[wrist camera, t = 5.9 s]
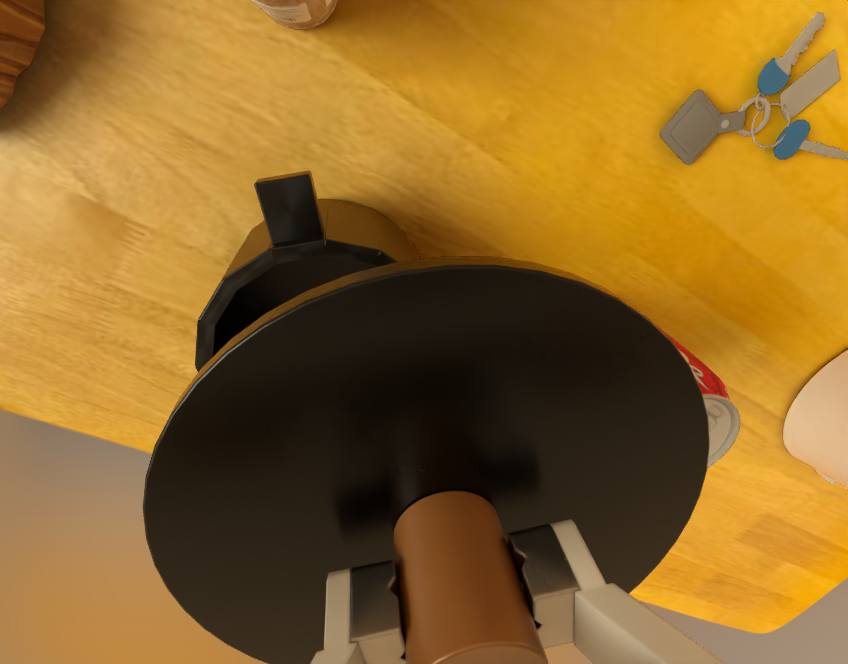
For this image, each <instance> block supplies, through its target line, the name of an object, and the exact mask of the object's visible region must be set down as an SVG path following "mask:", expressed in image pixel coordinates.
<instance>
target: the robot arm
mask: <svg viewBox="0 0 848 664" xmlns="http://www.w3.org/2000/svg"><path fill="white" fill-rule="evenodd" d="M783 441H784V445H785V447H786V449H787V451H788V452H789V453H790V454H791V455H792V456H793V457H794V458H796V459H798V460H800V461H802V462H804V463H805V464H807V465H809V466H811V467H813V468H814V469H815V470H816V472H817V474H818V475H819V476H820V477H822V478H823V479H825V480H826V481H828V482H829V483H833V484H834V483H838V484H840V485H841V486H842V487H844V488H845V489H847V490H848V350H846V351H845V352H843V353H842V354H840V355H839V356H837V357H836V358H835V359H833V360H832V361H831V362H829V363H828V364H827V365H825V366H824V367H823V368H822V369H821V370H820V371H819V372H817V373H816V374H815V375H814V376H813V377H812V378H811V379H810V381H809V382H808V383H807V384H806V385H805V386H804V387H803V389H802V390H801V391H800V393H799V394H798V395H797V397H796V398H795V400H794V402H793V403H792V405H791V407H790V409H789V411H788V414H787V416H786V419H785V423H784V427H783ZM507 544H508V547H509V550H510V553H511V556H512V559H513V562H514V564H515V567H516V570H517V573H518V576H519V579H520V582H521V585H522V588H523V591H524V593H525V596H526V599H527V602H528V605H529V608H530V611H531V614H532V617H533V619H534V622H535V625H536V628H537V631H538V634H539V637H540V640H541V643H542V646H543V648H548V647H554V646H558V645H563V644H568V643H573V642H574V645H575V646H576V647H577V648H578V649H579V650H580V651H581V652H582V653H583V654H584V655H585V656H586V657H587V658H588V659H589V660H590V661H592V663H593V664H724V662H723V661H722V660H720V659H719V658H718V657H716V656H715V655H713V654H712V653H710V652H709V651H708V650H706V649H705V648H704V647H702V646H701V645H699V644H698V643H697V642H695V641H694V640H692V639H691V638H689V637H688V636H687V635H685V634H684V633H682V632H681V631H680V630H678V629H677V628H675V627H674V626H673V625H671V624H670V623H668V622H667V621H666V620H664V619H663V618H661V617H660V616H658V615H657V614H656V613H654V612H653V611H652V610H650V609H649V608H647V607H646V606H644V605H643V604H642V603H640V602H639V601H638V600H636V599H635V598H633V597H632V596H631V595H629V594H628V593H626V592H625V591H624V590H622V589H621V588H619V587H618V586H617V585H615V584H614V583H610V584H606V582H605V580H604V579H603V577H602V575H601V573H600V571H599V569H598V567H597V565H596V563H595V561H594V559H593V557H592V555H591V553H590V552H589V550H588V548H587V546H586V544H585V542H584V540H583V538H582V536H581V534H580V532H579V530H578V528H577V526H576V525H575V523H574V522H573V521H572V520H571V519H568V520H564V521H560V522H556V523H551V524H544V525H540V526H535V527H531V528H527V529H523V530H519V531H515V532H510V533H508V534H507ZM310 664H406V656H405V638H404V628H403V618H402V611H401V607H400V588H399V579H398V570H397V564H396V560H395V559H393V560H388V561H383V562H378V563H373V564H368V565H363V566H358V567H353V568H348V569H343V570H339V571H334V572H330V573H329V574H328V578H327V587H326V611H325V635H324V650H320V651H317V652H316V654H315V656H314V658H313V659H312V661H311V663H310Z"/></svg>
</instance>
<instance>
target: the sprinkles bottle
mask: <svg viewBox="0 0 848 664" xmlns="http://www.w3.org/2000/svg"><path fill="white" fill-rule="evenodd" d="M251 1H253V2H254V3H255V4H256V5H257V6H259V7H260V8H261V9H262V10H263V11H265V13H266V14H267V15H268V16H269V17H271V18H272V19H273V20H274V21H275V22H277V23H279V24H280V25H283V26H286V27H288V28H292V29H311V28H313V27H315V26H318V25H320V24H322V23H323V22H325V21H326V20H327V19H328V17H329V16H330V15H331V13H332V12H333V11H334V9H335V7H336V4H337V2H338V0H251Z"/></svg>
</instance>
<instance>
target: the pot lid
mask: <svg viewBox="0 0 848 664" xmlns="http://www.w3.org/2000/svg"><path fill="white" fill-rule="evenodd" d="M709 448H710V439H709V422H708V415H707V411H706V407H705V403H704V399H703V395H702V391H701V389H700V387H699V385H698V383H697V380H696V378H695V376H694V374H693V372H692V370H691V368H690V365H689V364H688V362H687V361H686V360H685V358H684V357H683V355H682V354H681V353H680V351H679V350H678V349H677V347H676V346H675V344H674V343H673V342H672V340H671V339H670V338H669V337H668V336H666V335H665V334H664V333H663V332H662V331H661V330H660V329H659V328H658V327H657V326H656V325H655V324H654V323H653V322H652V321H651V320H650V319H648V318H647V317H646V316H645V315H644V314H642V313H641V312H640V311H639V310H637V309H636V308H635V307H633V306H632V305H630V304H629V303H627V302H626V301H624V300H623V299H621V298H620V297H618V296H617V295H615V294H613V293H612V292H610V291H609V290H607V289H606V288H603V287H601V286H599V285H597V284H595V283H592V282H590V281H588V280H586V279H583V278H581V277H579V276H577V275H575V274H572V273H569V272H565V271H562V270H558V269H555V268H551V267H548V266H544V265H541V264H537V263H533V262H527V261H519V260H512V259H505V258H497V257H490V256H442V257H434V258H426V259H418V260H410V261H402V262H396V263H392V264H388V265H384V266H380V267H376V268H372V269H368V270H364V271H360V272H356V273H352V274H349V275H347V276H344V277H341V278H339V279H336V280H334V281H331V282H329V283H326V284H323V285H321V286H318V287H316V288H313V289H311V290H308V291H306V292H304V293H302V294H300V295H299V296H297V297H295V298H293V299H291V300H289V301H288V302H286V303H284V304H282V305H280V306H278V307H277V308H275V309H273V310H271V311H269V312H267V313H266V314H265V315H263V316H262V317H260V318H259V319H258V320H256V321H255V322H254V323H252V324H251V325H250V326H248V327H247V328H245V329H244V330H243V331H241V332H240V333H239V334H237V335H236V336H235V337H233V338H232V339H231V340H230V341H229V342H228V343H227V344H226V345H225V346H224V347H223V348H222V349H221V350H220V351H219V352H217V353H216V354H215V355H214V356H213V357H212V358H211V359H210V360H209V361H208V362H207V363H206V364H205V365H204V366H203V367H202V368H201V370H200V371H199V372H198V374H197V375H196V376H195V378H194V379H193V380H192V382H191V383H190V385H189V386H188V387H187V389H186V390H185V391H184V393H183V394H182V395H181V397H180V398H179V400H178V402H177V403H176V405H175V407H174V409H173V411H172V413H171V415H170V417H169V419H168V421H167V423H166V425H165V427H164V429H163V431H162V433H161V435H160V437H159V439H158V441H157V442H156V444H155V447H154V451H153V454H152V457H151V461H150V464H149V468H148V471H147V474H146V479H145V480H146V481H145V490H144V501H143V514H144V523H145V533H146V539H147V543H148V546H149V549H150V552H151V555H152V559H153V562H154V565H155V567H156V569H157V571H158V572H159V574H160V576H161V578H162V580H163V582H164V584H165V586H166V587H167V589H168V590H169V592H170V593H171V594H172V595H173V597H174V598H175V599H176V601H177V602H178V603H179V604H180V606H181V607H182V608H183V609H184V611H186V612H187V613H188V614H189V615H190V616H191V617H192V618H193V619H194V620H195V621H196V622H197V623H198V624H200V625H201V626H202V627H203V628H204V629H205V630H207V631H208V632H210V633H211V634H212V635H214V636H215V637H217V638H218V639H220V640H221V641H223V642H224V643H226V644H227V645H229V646H231V647H233V648H235V649H237V650H239V651H241V652H243V653H244V654H246V655H248V656H250V657H252V658H255V659H257V660H260V661H263V662H265V663H268V664H310V663H311V661H312V659H313V658H314V656H315V654H316V652H317V651H320V650H324V635H325V611H326V587H327V578H328V574H329V573H330V572H334V571H339V570H343V569H348V568H353V567H358V566H363V565H368V564H373V563H378V562H383V561H388V560H393V559H395V560H396V564H397V570H398V579H399V588H400V607H401V611H402V618H403V628H404V638H405V656H406V664H548V660H547V657H546V654H545V651H544V648H543V646H542V643H541V640H540V637H539V634H538V631H537V628H536V625H535V622H534V619H533V617H532V614H531V611H530V608H529V605H528V602H527V599H526V596H525V593H524V591H523V588H522V585H521V582H520V579H519V576H518V573H517V570H516V567H515V564H514V562H513V559H512V556H511V553H510V550H509V547H508V544H507V534H508V533H510V532H515V531H519V530H523V529H527V528H531V527H535V526H540V525H544V524H551V523H556V522H560V521H564V520H568V519H571V520H572V521H573V522H574V523H575V525H576V526H577V528H578V530H579V532H580V534H581V536H582V538H583V540H584V542H585V544H586V546H587V548H588V550H589V552H590V553H591V555H592V557H593V559H594V561H595V563H596V565H597V567H598V569H599V571H600V573H601V575H602V577H603V579H604V580H605V582H606V584H610V583H614V584H615V585H617V586H618V587H619V588H621V589H622V590H624V591H625V592H626V593H628V594H629V593H630V592H631V591H632V590H633V589H634V588H636V587H637V586H638V585H639V584H640V583H641V582H642V581H643V580H644V579H645V578H646V577H647V576H648V575H649V574H650V573H651V572H652V571H653V570H654V568H655V567H656V566H657V565H658V564H659V563H660V562H661V561H662V559H663V558H664V557H665V555H666V554H667V553H668V552H669V550H670V549H671V548H672V546H673V545H674V544H675V542H676V541H677V539H678V538H679V536H680V534H681V533H682V531H683V529H684V528H685V526H686V524H687V522H688V521H689V519H690V517H691V515H692V512H693V510H694V508H695V505H696V503H697V501H698V499H699V496H700V493H701V490H702V486H703V483H704V479H705V475H706V472H707V465H708V456H709Z"/></svg>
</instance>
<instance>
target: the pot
mask: <svg viewBox="0 0 848 664" xmlns="http://www.w3.org/2000/svg"><path fill="white" fill-rule="evenodd" d="M254 186H255V189H256V192H257V196H258V199H259V202H260V206H261V209H262V212H263V215H264V219H265V220H264V221H263V222H262V223H260V224H259V225H258V226H256V227H255V228H253V229H252V230H251V232H250V233H249V235H248V237H247V238H246V240H245V242H244V243H243V245H242V247H241V248H240V250H239V252H238V253H237V255H236V257H235V258H234V260H233V261H232V263H231V265H230V267H229V268H228V270H227V272H226V273H225V275H224V277H223V278H222V280H221V282H220V283H219V285H218V287H217V288H216V290H215V292H214V293H213V295H212V297H211V299H210V300H209V302H208V304H207V305H206V307H205V309H204V310H203V312H202V314H201V315H200V317H199V320H198V322H197V340H196V357H195V366H196V369H197V371H198V372H199V371H200V370H201V368H202V367H203V366H204V365H205V364H206V363H207V362H208V361H209V360H210V359H211V358H212V357H213V356H214V355H215V354H216V353H217V352H219V351H220V350H221V349H222V348H223V347H224V346H225V345H226V344H227V343H228V342H229V341H230V340H231V339H232V338H233V337H235V336H236V335H237V334H239V333H240V332H241V331H243V330H244V329H245V328H247V327H248V326H250V325H251V324H252V323H254V322H255V321H256V320H258V319H259V318H260V317H262V316H263V315H265V314H266V313H267V312H269V311H271V310H273V309H275V308H277V307H278V306H280V305H282V304H284V303H286V302H288V301H289V300H291V299H293V298H295V297H297V296H299V295H300V294H302V293H304V292H306V291H308V290H311V289H313V288H316V287H318V286H321V285H323V284H326V283H329V282H331V281H334V280H336V279H339V278H341V277H344V276H347V275H349V274H352V273H356V272H360V271H364V270H368V269H372V268H376V267H380V266H384V265H388V264H392V263H396V262H402V261H410V260H418V259H421V257H420V255H419V254H418V252H417V250H416V249H415V247H414V245H413V244H412V242H411V241H410V239H409V238H408V236H407V235H406V233H405V232H404V231H403V230H401V229H400V228H399V227H398V226H397V225H396V224H394V223H393V222H392V221H391V220H389V219H388V218H387V217H385V216H383V215H382V214H380V213H378V212H377V211H375V210H373V209H371V208H368V207H365V206H363V205H359V204H356V203H353V202H348V201H342V200H331V199H320V200H318V199H317V195H316V191H315V186H314V182H313V178H312V174H311V172H310V171H304V172H298V173H292V174H286V175H280V176H275V177H269V178H263V179H258V180H257V181H256V182H255V184H254Z"/></svg>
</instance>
